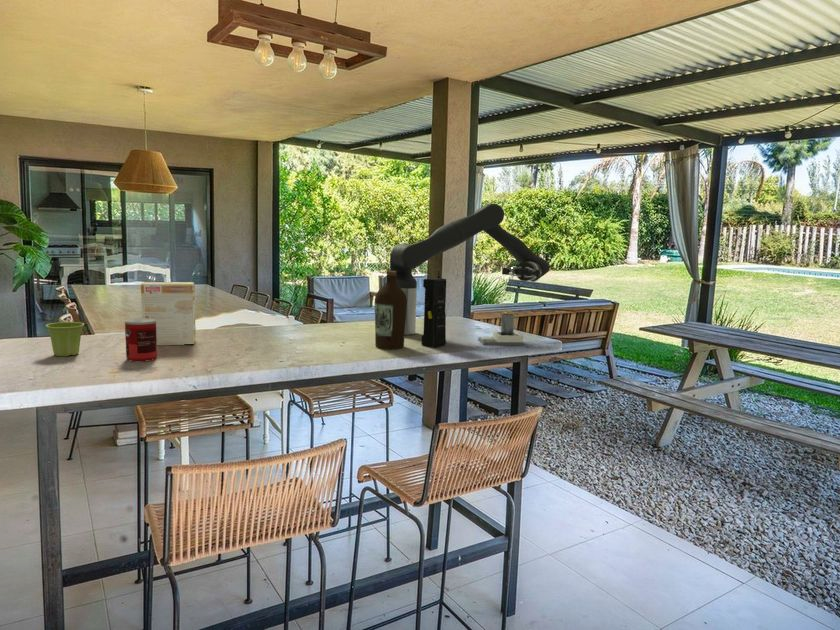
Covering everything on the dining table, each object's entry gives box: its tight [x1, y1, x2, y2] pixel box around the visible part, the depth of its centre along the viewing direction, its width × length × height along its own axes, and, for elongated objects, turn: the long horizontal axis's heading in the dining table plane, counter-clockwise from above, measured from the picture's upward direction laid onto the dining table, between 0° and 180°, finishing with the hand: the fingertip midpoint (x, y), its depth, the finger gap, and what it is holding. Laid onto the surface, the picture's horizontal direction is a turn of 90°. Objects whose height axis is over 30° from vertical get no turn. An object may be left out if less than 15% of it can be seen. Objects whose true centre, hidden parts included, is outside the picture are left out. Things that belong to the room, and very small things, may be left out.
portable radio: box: [420, 270, 447, 348], centre depth 198 cm, size 8×6×25 cm
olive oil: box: [374, 270, 407, 350], centre depth 193 cm, size 11×11×25 cm
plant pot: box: [45, 321, 85, 357], centre depth 167 cm, size 9×9×9 cm
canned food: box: [124, 317, 158, 362], centre depth 165 cm, size 8×8×11 cm
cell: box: [500, 309, 515, 336], centre depth 208 cm, size 4×4×11 cm
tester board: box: [477, 331, 524, 346], centre depth 209 cm, size 14×9×3 cm, turn 97°
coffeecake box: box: [140, 281, 197, 346], centre depth 187 cm, size 15×7×20 cm, turn 105°
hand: (517, 272), depth 217 cm, fingers open, 8 cm apart
